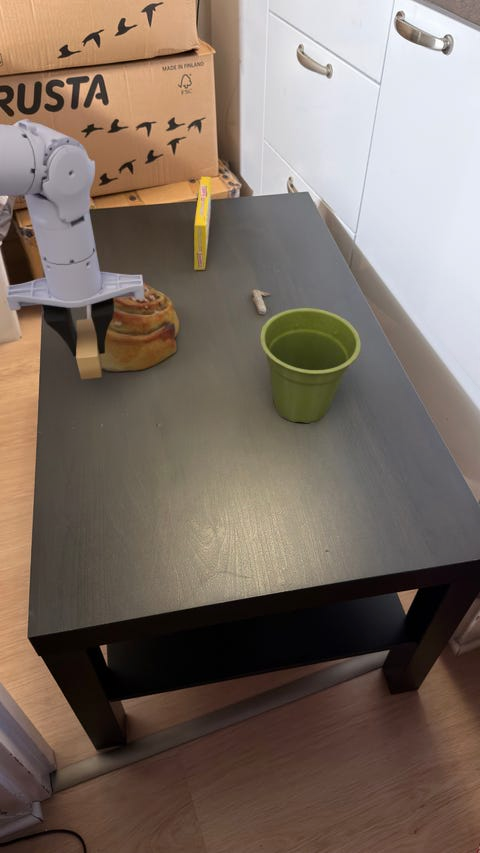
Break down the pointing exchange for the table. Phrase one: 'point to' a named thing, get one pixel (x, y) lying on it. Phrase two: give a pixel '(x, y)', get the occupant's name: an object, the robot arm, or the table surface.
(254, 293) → the ginger root
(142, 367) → the pastry
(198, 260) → the candy box
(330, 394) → the plant pot
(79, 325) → the cake knife
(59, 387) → the table surface
